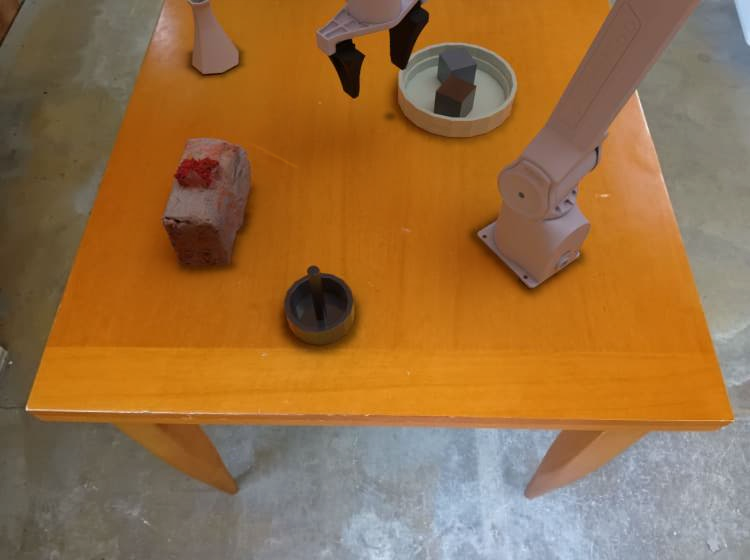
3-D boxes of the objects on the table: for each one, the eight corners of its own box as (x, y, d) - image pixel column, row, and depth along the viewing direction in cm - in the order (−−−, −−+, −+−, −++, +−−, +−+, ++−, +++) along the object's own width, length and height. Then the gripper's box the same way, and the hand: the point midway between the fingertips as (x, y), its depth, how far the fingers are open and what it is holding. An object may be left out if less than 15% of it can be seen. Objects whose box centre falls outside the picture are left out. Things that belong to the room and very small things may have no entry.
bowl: (535, 108, 80) (541, 88, 77) (446, 157, 75) (449, 138, 72) (461, 49, 87) (464, 28, 84) (375, 91, 82) (375, 70, 79)
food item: (197, 179, 73) (174, 120, 65) (259, 180, 73) (243, 121, 65) (174, 267, 66) (145, 214, 58) (243, 269, 66) (223, 216, 58)
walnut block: (472, 109, 79) (476, 85, 76) (458, 125, 78) (461, 102, 74) (447, 98, 81) (450, 74, 77) (433, 114, 79) (435, 91, 76)
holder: (367, 323, 62) (366, 308, 59) (311, 359, 60) (307, 345, 57) (330, 278, 65) (328, 261, 62) (276, 310, 63) (271, 294, 60)
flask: (186, 52, 87) (165, -11, 79) (231, 39, 89) (216, -24, 80) (199, 80, 84) (179, 18, 75) (246, 67, 85) (231, 4, 77)
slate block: (473, 87, 82) (477, 63, 78) (448, 94, 81) (451, 70, 78) (461, 70, 84) (465, 46, 80) (436, 76, 83) (439, 53, 80)
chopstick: (328, 316, 62) (321, 271, 55) (319, 321, 62) (311, 277, 54) (322, 308, 63) (315, 263, 55) (313, 314, 62) (304, 269, 55)
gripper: (400, -75, 61) (397, 38, 73) (292, -24, 56) (307, 89, 67) (447, -48, 58) (436, 65, 70) (337, 8, 53) (345, 120, 65)
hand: (375, 79), depth 68 cm, fingers open, 7 cm apart
